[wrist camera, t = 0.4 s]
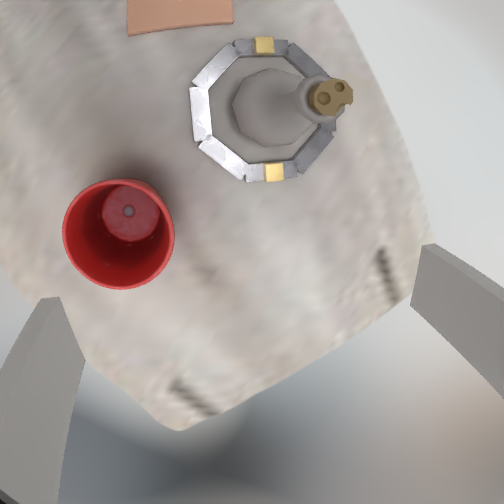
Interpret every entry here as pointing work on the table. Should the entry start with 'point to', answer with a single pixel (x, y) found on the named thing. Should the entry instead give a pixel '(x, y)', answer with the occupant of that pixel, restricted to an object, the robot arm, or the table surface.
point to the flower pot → (118, 233)
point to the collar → (203, 120)
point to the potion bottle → (287, 105)
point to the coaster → (175, 14)
